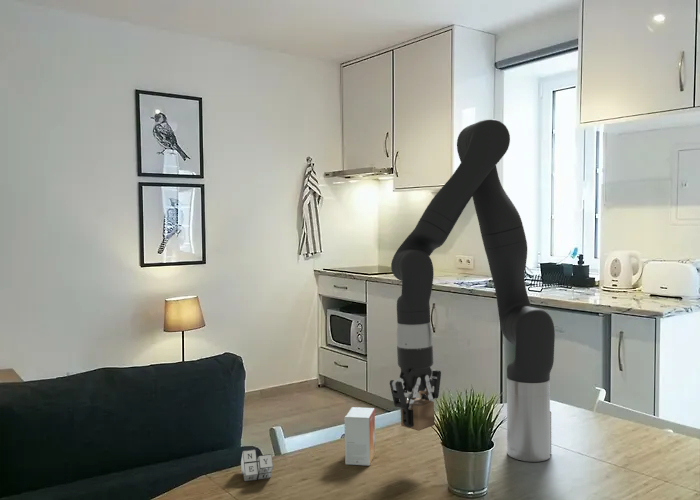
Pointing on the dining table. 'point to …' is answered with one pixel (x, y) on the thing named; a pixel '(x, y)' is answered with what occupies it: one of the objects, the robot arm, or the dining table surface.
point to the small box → (359, 436)
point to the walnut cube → (421, 414)
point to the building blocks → (256, 465)
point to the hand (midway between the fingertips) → (417, 422)
